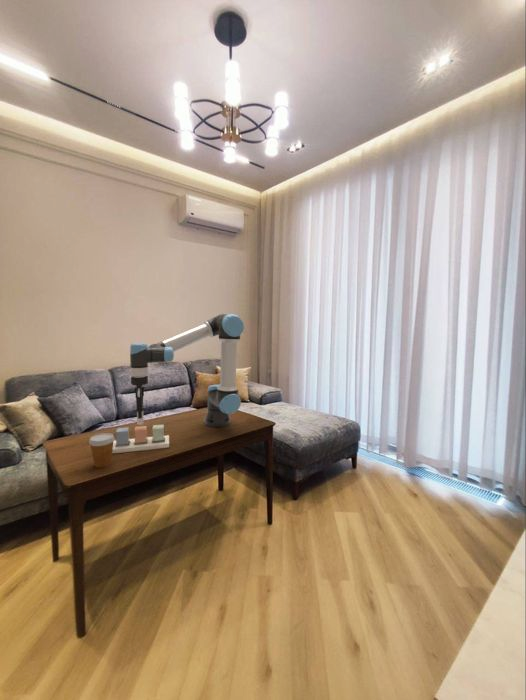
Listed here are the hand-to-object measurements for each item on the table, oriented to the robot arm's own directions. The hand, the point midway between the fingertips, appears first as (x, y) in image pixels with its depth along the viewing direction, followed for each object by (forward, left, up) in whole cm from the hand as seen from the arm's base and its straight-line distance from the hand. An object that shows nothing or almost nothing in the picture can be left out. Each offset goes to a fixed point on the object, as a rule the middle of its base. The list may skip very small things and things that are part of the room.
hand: (140, 424), depth 146 cm
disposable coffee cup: (+14, +15, -11) cm, 23 cm away
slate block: (+8, 0, -8) cm, 11 cm away
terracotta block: (0, 0, -8) cm, 8 cm away
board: (0, 0, -11) cm, 11 cm away
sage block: (-8, 0, -8) cm, 11 cm away
